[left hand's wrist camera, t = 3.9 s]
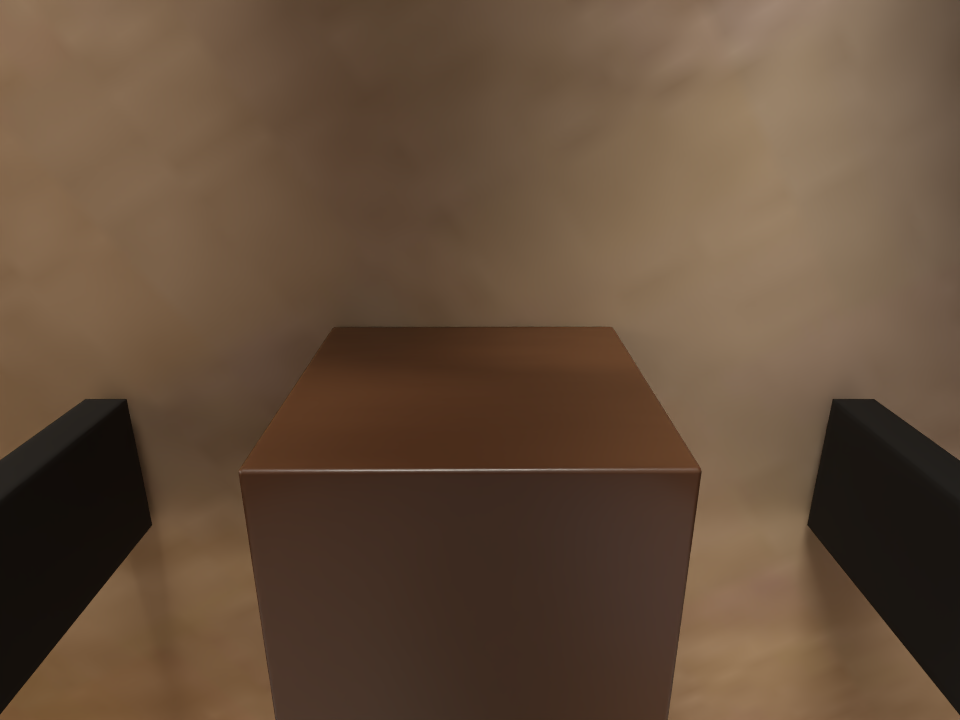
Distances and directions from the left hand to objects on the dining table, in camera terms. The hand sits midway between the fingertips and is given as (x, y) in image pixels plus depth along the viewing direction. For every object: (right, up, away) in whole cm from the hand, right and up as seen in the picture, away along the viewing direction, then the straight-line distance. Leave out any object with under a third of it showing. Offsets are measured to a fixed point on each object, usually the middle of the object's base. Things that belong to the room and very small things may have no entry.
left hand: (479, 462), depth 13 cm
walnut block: (0, 0, 0) cm, 0 cm away
